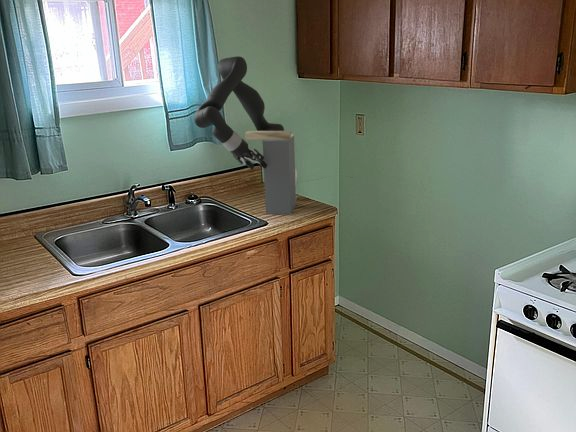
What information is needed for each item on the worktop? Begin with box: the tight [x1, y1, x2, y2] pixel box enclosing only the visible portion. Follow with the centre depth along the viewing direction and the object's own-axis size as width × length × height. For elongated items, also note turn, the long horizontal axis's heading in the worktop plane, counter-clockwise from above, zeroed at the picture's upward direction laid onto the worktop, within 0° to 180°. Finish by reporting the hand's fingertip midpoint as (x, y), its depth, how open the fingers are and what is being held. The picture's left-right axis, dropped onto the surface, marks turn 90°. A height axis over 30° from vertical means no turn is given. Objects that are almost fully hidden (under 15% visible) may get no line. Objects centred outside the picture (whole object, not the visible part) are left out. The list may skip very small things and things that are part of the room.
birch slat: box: [244, 130, 292, 141], centre depth 250 cm, size 4×19×3 cm, turn 80°
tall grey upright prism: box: [262, 133, 297, 215], centre depth 257 cm, size 14×11×32 cm
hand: (259, 167), depth 251 cm, fingers open, 8 cm apart
